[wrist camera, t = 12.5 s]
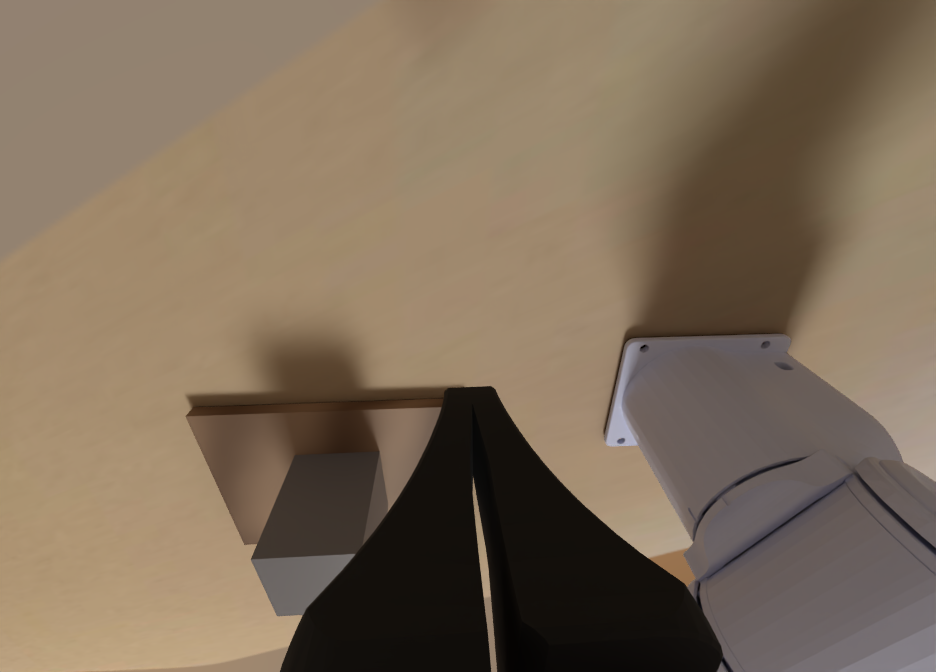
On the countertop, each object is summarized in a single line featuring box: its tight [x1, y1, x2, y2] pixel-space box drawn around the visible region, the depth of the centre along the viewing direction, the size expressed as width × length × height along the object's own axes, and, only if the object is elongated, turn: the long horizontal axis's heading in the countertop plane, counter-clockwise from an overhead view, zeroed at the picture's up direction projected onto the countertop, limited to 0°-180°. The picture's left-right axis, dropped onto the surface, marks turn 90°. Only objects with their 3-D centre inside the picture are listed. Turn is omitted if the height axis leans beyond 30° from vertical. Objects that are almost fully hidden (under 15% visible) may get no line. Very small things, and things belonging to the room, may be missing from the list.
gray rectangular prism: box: [251, 451, 388, 616], centre depth 24 cm, size 5×5×7 cm
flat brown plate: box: [186, 398, 444, 545], centre depth 25 cm, size 16×12×6 cm
